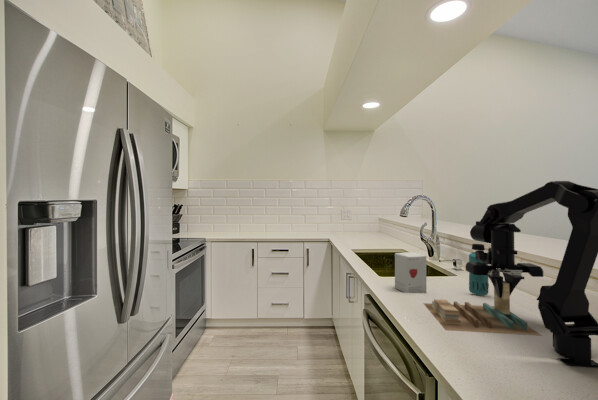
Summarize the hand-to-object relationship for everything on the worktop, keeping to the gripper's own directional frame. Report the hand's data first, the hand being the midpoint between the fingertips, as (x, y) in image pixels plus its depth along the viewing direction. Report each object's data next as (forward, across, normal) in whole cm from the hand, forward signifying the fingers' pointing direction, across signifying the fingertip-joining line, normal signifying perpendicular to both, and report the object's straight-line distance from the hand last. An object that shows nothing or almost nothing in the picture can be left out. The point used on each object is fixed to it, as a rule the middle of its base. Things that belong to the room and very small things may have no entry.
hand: (503, 297), depth 82 cm
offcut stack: (+6, +16, 0) cm, 18 cm away
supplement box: (+8, +20, -27) cm, 35 cm away
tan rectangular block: (+4, 0, -1) cm, 4 cm away
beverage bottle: (+8, -4, -23) cm, 25 cm away
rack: (+7, +9, 0) cm, 12 cm away
